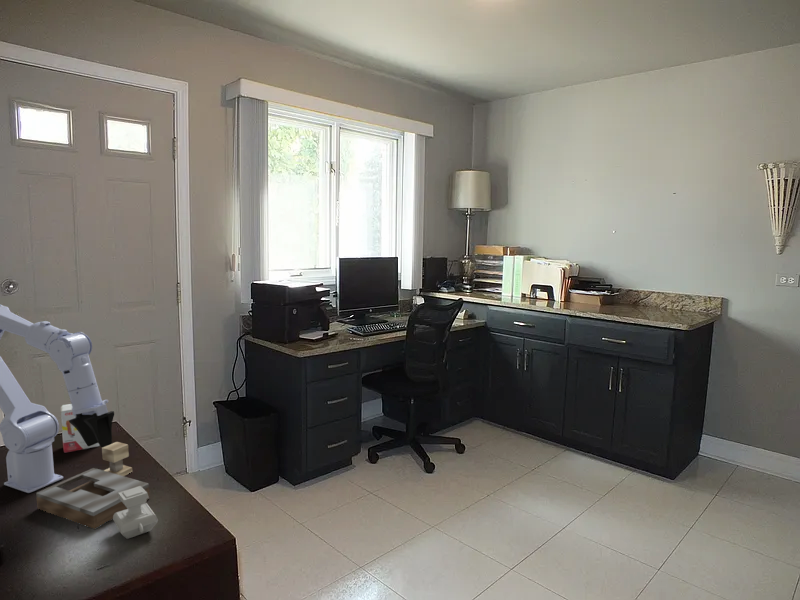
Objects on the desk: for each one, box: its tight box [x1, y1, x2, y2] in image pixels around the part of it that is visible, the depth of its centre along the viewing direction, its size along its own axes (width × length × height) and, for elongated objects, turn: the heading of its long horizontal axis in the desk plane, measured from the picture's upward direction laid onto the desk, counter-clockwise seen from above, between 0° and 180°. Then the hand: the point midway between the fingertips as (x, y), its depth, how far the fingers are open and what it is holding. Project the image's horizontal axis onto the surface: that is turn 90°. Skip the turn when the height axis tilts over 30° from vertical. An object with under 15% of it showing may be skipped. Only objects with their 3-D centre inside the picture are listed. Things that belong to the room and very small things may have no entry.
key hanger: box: [101, 441, 133, 477], centre depth 125 cm, size 5×5×7 cm
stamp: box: [112, 486, 159, 540], centre depth 102 cm, size 9×7×8 cm
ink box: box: [60, 403, 101, 453], centre depth 140 cm, size 9×5×12 cm, turn 124°
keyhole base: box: [35, 467, 151, 530], centre depth 112 cm, size 18×13×4 cm
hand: (99, 445), depth 115 cm, fingers open, 7 cm apart
